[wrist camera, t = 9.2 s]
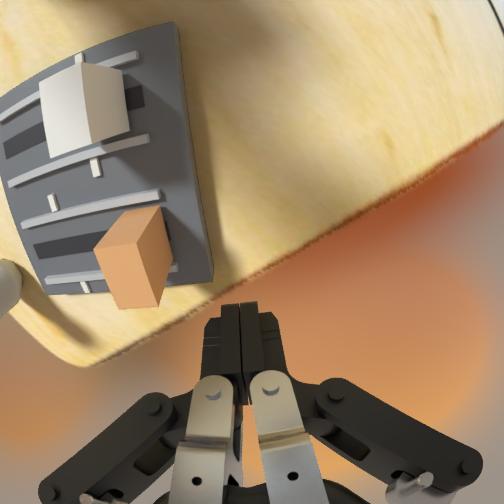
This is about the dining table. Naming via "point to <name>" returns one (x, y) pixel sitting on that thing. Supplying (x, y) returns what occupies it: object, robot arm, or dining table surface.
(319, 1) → the dining table surface
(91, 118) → the fader
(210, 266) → the console
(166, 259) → the block
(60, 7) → the dining table surface
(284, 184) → the dining table surface
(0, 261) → the salt shaker
